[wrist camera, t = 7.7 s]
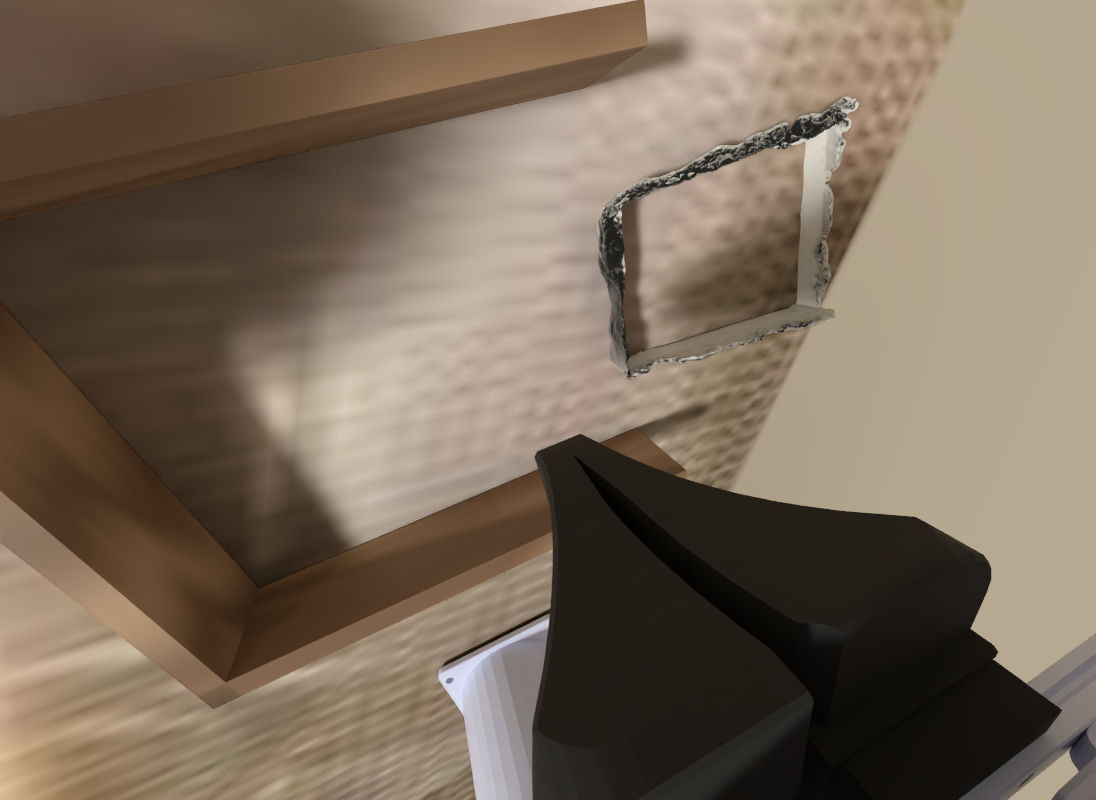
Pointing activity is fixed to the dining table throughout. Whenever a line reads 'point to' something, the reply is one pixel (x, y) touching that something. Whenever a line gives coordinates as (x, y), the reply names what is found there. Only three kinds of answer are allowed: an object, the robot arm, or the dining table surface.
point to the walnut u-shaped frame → (126, 480)
